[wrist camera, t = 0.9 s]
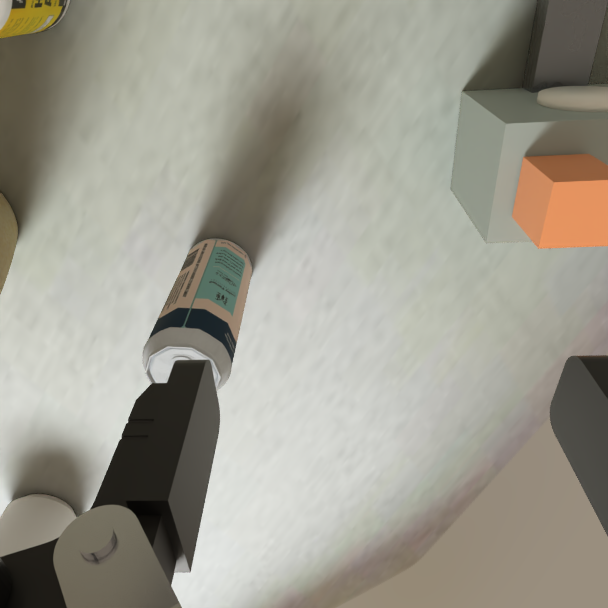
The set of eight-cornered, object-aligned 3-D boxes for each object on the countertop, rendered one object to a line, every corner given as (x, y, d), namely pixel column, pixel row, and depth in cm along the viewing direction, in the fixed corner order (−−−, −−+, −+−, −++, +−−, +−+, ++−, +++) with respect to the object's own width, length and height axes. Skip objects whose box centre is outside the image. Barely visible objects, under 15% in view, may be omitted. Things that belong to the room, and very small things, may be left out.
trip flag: (523, 156, 23) (553, 182, 20) (589, 153, 23) (629, 179, 20) (511, 216, 25) (538, 248, 22) (573, 214, 24) (608, 245, 21)
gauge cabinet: (462, 83, 29) (507, 114, 22) (648, 73, 28) (751, 102, 22) (450, 189, 32) (486, 243, 26) (615, 182, 32) (695, 235, 25)
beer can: (189, 291, 37) (142, 405, 27) (184, 233, 34) (130, 336, 24) (253, 294, 37) (230, 410, 27) (253, 236, 34) (227, 341, 24)
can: (23, 530, 55) (-42, 654, 45) (0, 488, 51) (-78, 613, 41) (90, 531, 55) (39, 655, 44) (72, 489, 50) (11, 615, 40)
